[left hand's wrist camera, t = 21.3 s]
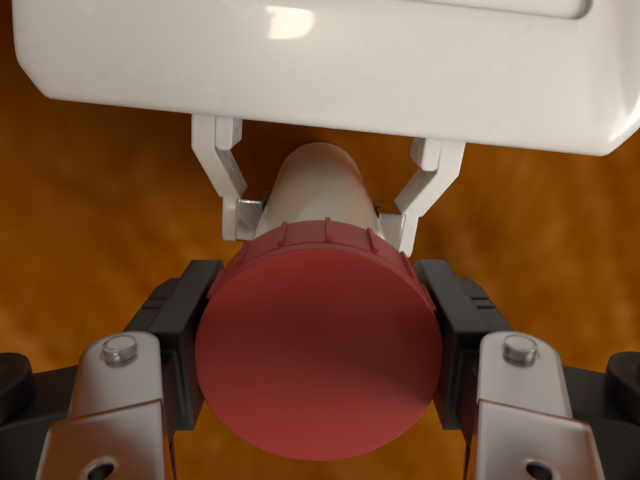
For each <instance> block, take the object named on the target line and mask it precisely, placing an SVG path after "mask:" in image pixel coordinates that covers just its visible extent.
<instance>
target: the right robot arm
mask: <svg viewBox="0 0 640 480" xmlns="http://www.w3.org/2000/svg"><path fill="white" fill-rule="evenodd" d="M12 20H13V37H14V45H15V53H16V57H17V61H18V63H19V65H20V66H21V68H22V69H23V70H24V72H25V73H26V74H27V75H28V77H29V78H30V79H31V81H32V82H33V83H34V85H35V86H36V87H37V88H38V89H39V90H40V92H41V93H42V94H43V95H45V96H46V97H48V98H50V99H56V100H65V101H75V102H84V103H94V104H103V105H113V106H123V107H132V108H142V109H151V110H161V111H171V112H180V113H190V114H192V149H193V151H194V153H195V155H196V156H197V158H198V160H199V162H200V163H201V165H202V167H203V169H204V170H205V172H206V174H207V176H208V177H209V179H210V181H211V183H212V185H213V186H214V188H215V190H216V192H217V193H218V195H219V197H223V214H222V237H223V240H228V241H243V242H245V241H246V240H249V241H250V242H251V240H252V237H253V235H254V232H255V230H256V227H257V225H258V222H259V220H260V217H261V215H262V212H263V210H264V208H265V205H266V203H267V199H268V190H265V189H257V188H249V187H248V185H247V183H246V181H245V179H244V177H243V175H242V173H241V171H240V169H239V167H238V165H237V163H236V161H235V159H234V157H233V155H232V153H231V151H230V149H231V148H232V147H233V146H234V145H236V144H237V143H238V142H239V141H240V140H241V139H242V119H247V120H257V121H266V122H276V123H286V124H295V125H305V126H314V127H324V128H334V129H343V130H353V131H362V132H372V133H382V134H391V135H401V136H410V137H413V139H412V146H411V152H410V157H411V159H412V160H413V161H414V162H415V163H416V164H417V165H418V166H419V167H420V168H419V169H418V170H417V171H416V173H415V174H414V175H413V177H412V178H411V179H410V181H409V182H408V183H407V184H406V186H405V187H404V188H403V190H402V191H401V192H400V194H399V195H398V196H397V197H396V199H395V200H394V202H389V201H376V200H374V204H373V207H374V210H375V212H376V215H377V217H378V220H379V222H380V225H381V227H382V230H383V232H384V235H385V237H386V240H387V242H388V243H389V244H391V245H392V246H393V247H394V248H395V249H396V250H397V251H399V252H401V251H403V252H404V253H405V254H406V256H407V257H410V255H411V253H412V249H413V244H414V238H415V233H416V228H417V222H418V217H419V216H421V217H422V216H423V215H424V214H425V213H426V211H427V210H428V209H429V208H430V207H431V206H432V205H433V204H434V202H435V201H436V200H437V199H438V198H439V197H440V196H441V194H442V193H443V192H444V191H445V190H446V189H447V188H448V187H449V185H450V184H451V183H452V182H453V181H454V180H455V179H456V177H457V176H458V175H459V171H460V166H461V162H462V157H463V152H464V148H465V143H466V142H468V143H478V144H487V145H497V146H506V147H516V148H526V149H535V150H545V151H554V152H564V153H574V154H584V155H593V156H604V155H607V154H609V153H611V152H612V151H613V150H614V149H616V148H617V147H618V146H619V145H621V144H622V143H623V142H624V141H625V140H627V139H628V138H629V137H630V136H631V135H632V134H633V133H634V132H635V131H637V130H638V128H639V127H640V0H12Z"/></svg>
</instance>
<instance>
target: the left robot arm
mask: <svg viewBox="0 0 640 480" xmlns="http://www.w3.org/2000/svg"><path fill="white" fill-rule="evenodd" d="M220 269H222V270H224V265H223V262H222V260H192V261H191V262H190V264H189V265H188V267H187V268H186V270H185V271H184V273H183V274H182V276H181V277H180V278H171V279H169V280H167V281H166V282H164V283H162V284H161V285H159V286H157V287H156V288H155V289H154V291H153V292H152V293H151V295H150V296H149V297H148V300H146V301H145V303H144V304H143V305H142V307H141V309H139V311H138V312H137V313H136V315H135V316H134V317H133V319H132V320H131V321H130V323H129V324H128V325H127V327H126V328H125V329H124V331H123V332H120V333H115V334H112V335H109V336H106V337H104V338H101V339H99V340H97V341H95V342H94V343H92V344H91V345H90V346H88V347H87V348H86V349H85V350H84V351H83V353H82V354H81V356H80V359H79V364H78V365H75V366H71V367H67V368H62V369H57V370H51V371H46V372H41V373H35V374H33V373H32V369H31V365H30V361H29V359H28V358H27V357H26V356H24V355H22V354H18V353H0V480H178V477H177V465H176V454H175V447H174V440H173V436H174V433H175V431H176V430H194V428H195V425H196V422H197V419H198V416H199V413H200V411H201V408H202V405H203V402H204V399H205V398H204V396H203V394H202V392H201V390H200V387H199V384H198V377H197V368H196V359H195V349H194V340H195V334H196V331H197V327H198V324H199V321H200V319H201V317H202V315H203V313H204V310H205V308H206V306H207V304H208V302H209V300H210V299H208V298H206V297H207V295H208V293H209V291H210V289H211V287H212V285H213V283H214V281H215V279H216V277H217V275H218V273H219V271H220ZM413 271H414V272H415V274H416V276H417V278H418V280H419V282H420V284H422V283H424V285H425V287H426V289H427V291H428V293H429V295H430V297H431V299H432V301H433V303H434V305H435V307H436V309H437V312H438V313H437V314H435V317H436V319H437V321H438V323H439V327H440V331H441V334H442V339H443V351H442V360H441V369H440V378H439V385H438V387H437V390H436V393H435V395H434V396H433V401H434V404H435V407H436V410H437V413H438V416H439V419H440V422H441V424H442V427H443V430H461V431H462V433H463V436H464V439H465V441H466V447H465V454H464V465H463V477H462V480H640V352H620V353H616V354H614V355H612V356H611V357H610V359H609V361H608V365H607V369H606V372H605V373H599V372H594V371H589V370H583V369H578V368H573V367H568V366H564V365H562V364H561V359H560V356H559V354H558V353H557V351H556V350H555V349H554V348H553V347H552V346H550V345H549V344H548V343H546V342H545V341H543V340H541V339H539V338H536V337H534V336H531V335H528V334H525V333H520V332H514V331H513V329H512V328H511V326H510V325H509V324H508V322H507V321H506V320H505V318H504V317H503V316H502V314H501V313H500V312H499V310H498V309H496V306H495V305H494V304H493V302H492V301H491V300H489V297H488V295H487V294H486V293H485V291H484V290H483V289H482V287H481V286H479V285H477V284H476V283H474V282H472V281H471V280H469V279H467V278H457V276H456V275H455V273H454V272H453V270H452V269H451V267H450V266H449V264H448V263H447V261H446V260H416V261H415V263H414V269H413Z"/></svg>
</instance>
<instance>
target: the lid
mask: <svg viewBox="0 0 640 480" xmlns="http://www.w3.org/2000/svg"><path fill="white" fill-rule="evenodd" d="M206 298H208V299H210V300H209V302H208V304H207V306H206V308H205V310H204V313H203V315H202V317H201V319H200V321H199V324H198V327H197V331H196V334H195V340H194V349H195V359H196V368H197V377H198V384H199V387H200V390H201V392H202V394H203V396H204V398H205V400H206V402H207V404H208V405H209V406H210V408H211V409H212V411H213V412H214V414H215V415H216V416H217V417H218V418H219V419H220V420H221V421H222V423H223V424H224V425H225V426H227V427H228V428H229V429H230V430H231V431H232V432H234V433H235V434H236V435H238V436H239V437H241V438H242V439H244V440H245V441H247V442H248V443H250V444H252V445H254V446H256V447H258V448H260V449H263V450H265V451H268V452H270V453H273V454H276V455H280V456H284V457H288V458H293V459H300V460H311V461H326V460H337V459H344V458H350V457H353V456H357V455H361V454H364V453H367V452H370V451H372V450H375V449H377V448H379V447H381V446H383V445H385V444H387V443H389V442H391V441H392V440H394V439H395V438H397V437H398V436H400V435H401V434H402V433H404V432H405V431H406V430H407V429H408V428H410V427H411V426H412V425H413V424H414V423H415V422H416V421H417V420H418V419H419V417H420V416H421V415H422V414H423V412H424V411H425V410H426V408H427V407H428V406H429V404H430V402H431V400H432V398H433V396H434V395H435V393H436V390H437V387H438V385H439V378H440V369H441V360H442V351H443V339H442V334H441V331H440V327H439V323H438V321H437V319H436V317H435V314H437V313H438V312H437V309H436V307H435V305H434V303H433V301H432V299H431V297H430V295H429V293H428V291H427V289H426V287H425V285H424V283H422V284H420V282H419V280H418V278H417V276H416V274H415V272H414V271H413V269H412V267H411V265H410V263H409V260H408V258H407V256H406V254H405V253H404V252H403V251H401V252H399V251H397V250H396V249H395V248H394V247H393V246H392V245H391V244H389V243H388V242H387V241H385V240H384V239H382V238H381V237H379V236H378V235H376V234H374V233H373V230H372V229H371V228H369V227H368V228H367V230H365V229H363V228H360V227H357V226H354V225H351V224H348V223H342V222H337V221H331V219H330V217H325V220H309V221H300V222H295V223H289V224H287V222H286V221H285V222H282V224H281V226H280V227H277V228H274V229H272V230H270V231H268V232H266V233H263V234H262V235H260V236H258V237H257V238H255V239H254V240H252V241H251V242H250V241H249V240H246V241H245V242H244V244H243V247H242V249H241V250H240V251H239V252H238V253H237V254H236V255H235V256H234V257H233V259H232V260H231V261H230V262H229V264H228V265H227V267H226V268H225V270H222V269H220V271H219V273H218V275H217V277H216V279H215V281H214V283H213V285H212V287H211V289H210V291H209V293H208V295H207V297H206Z"/></svg>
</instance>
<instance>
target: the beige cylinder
mask: <svg viewBox="0 0 640 480" xmlns="http://www.w3.org/2000/svg"><path fill="white" fill-rule="evenodd" d="M325 217H330V219H331V221H337V222H342V223H348V224H351V225H354V226H357V227H360V228H363V229H365V230H367V228H368V227H369V228H371V229H372V230H373V233H374V234H376V235H378V236H379V237H381V238H382V239H384V240H385V241H387V240H386V237H385V235H384V232H383V230H382V227H381V225H380V222H379V220H378V217H377V215H376V212H375V210H374V207H373V205H372V202H371V200H370V197H369V194H368V192H367V189H366V187H365V184H364V182H363V179H362V177H361V174H360V172H359V169H358V167H357V165H356V163H355V161H354V160H353V158H352V157H351V156H350V155H349V154H348V153H347V152H346V151H345V150H343V149H342V148H340V147H338V146H336V145H333V144H330V143H325V142H313V143H308V144H305V145H303V146H301V147H299V148H297V149H295V150H294V151H293V152H292V153H290V154H289V155H288V157H287V158H286V159H285V161H284V162H283V164H282V166H281V168H280V171H279V173H278V176H277V178H276V180H275V183H274V185H273V188H272V190H271V193H270V195H269V198H268V200H267V203H266V205H265V208H264V210H263V212H262V215H261V217H260V220H259V222H258V225H257V227H256V230H255V232H254V235H253V237H252V240H254V239H255V238H257V237H258V236H260V235H262V234H263V233H266V232H268V231H270V230H272V229H274V228H277V227H280V226H281V224H282V222H285V221H286V222H287V224H289V223H295V222H300V221H309V220H325ZM252 240H251V241H252Z"/></svg>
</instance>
